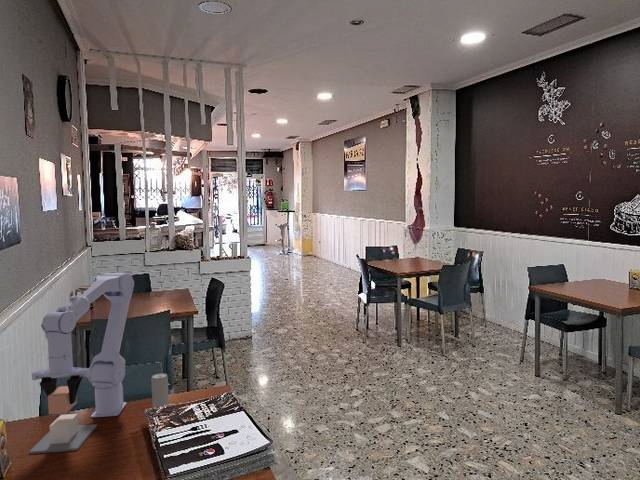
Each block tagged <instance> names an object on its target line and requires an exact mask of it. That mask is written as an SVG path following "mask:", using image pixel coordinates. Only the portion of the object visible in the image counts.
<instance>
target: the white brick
mask: <svg viewBox="0 0 640 480" xmlns="http://www.w3.org/2000/svg"><path fill="white" fill-rule="evenodd" d="M78 425H79V415H78V413H69V414H67V413H65V414H59V416H58V417H56V419H55V420H53V422H52V423H51V424H50V425H49V431H50V444H58V443H68V442H69V441H70V440H71V439H72V438H73V437H74V435H75V434H76V433H77V432H78V431H79V429H78Z"/></svg>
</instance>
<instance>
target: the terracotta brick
mask: <svg viewBox="0 0 640 480" xmlns="http://www.w3.org/2000/svg"><path fill="white" fill-rule="evenodd" d="M77 403H78V394H77V395H76V401H75V402H74V403H73V404H70V400H69V389H68V385H65V386H64V385H63V386H62V385H60V386H58V387H56V390H55V391H53V392H52V393H51V394H50V395H49V396H48V397H47V404H48V405H47V407H48V409H47V410H48V415H58V414H59V415H63V414H67V413H68V412H69V411H70V410H72V408H73V407H74V406H75V405H76V404H77Z"/></svg>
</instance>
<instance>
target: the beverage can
mask: <svg viewBox="0 0 640 480" xmlns="http://www.w3.org/2000/svg"><path fill="white" fill-rule="evenodd" d="M150 380H151V381H150V382H151V400H152V402H151V403H152V404H151V405H152V409H153V408H154V407H160V406H164V405H169V406H170V402H169V401H170V400H169V398H170V397H169V377H168V374H167V373H163V372H161V373H156V374H155V373H154V374H153V375H152V376H151V379H150Z"/></svg>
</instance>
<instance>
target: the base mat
mask: <svg viewBox="0 0 640 480" xmlns="http://www.w3.org/2000/svg"><path fill="white" fill-rule="evenodd" d="M97 427H98V424H97V423H96V424H83V425H82V424H80V425H79V424H78V429H79V431H78V432H77V433H76V434H75V435H74V437H73V438H72V439H71V440H70V441H69V442H68V443H58V444H50V430H49V431H48V432H47V433H46V434H45V435H44V436H43V438H41V439H40V440H39V441H38V442H37V444H35V445H34V446H33V447H32V448H31V449H30V450H29V452H28V453H29V454H31V455H32V454H46V453H57V452H58V453H59V452H61V453H62V452H72V451H78V450H79V449H80V448H81V446H83V444H85V442H86V440H87V439H88V438H89V437H90V436H91V434H92V433H93V432H94V431H95V429H96V428H97Z"/></svg>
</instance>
